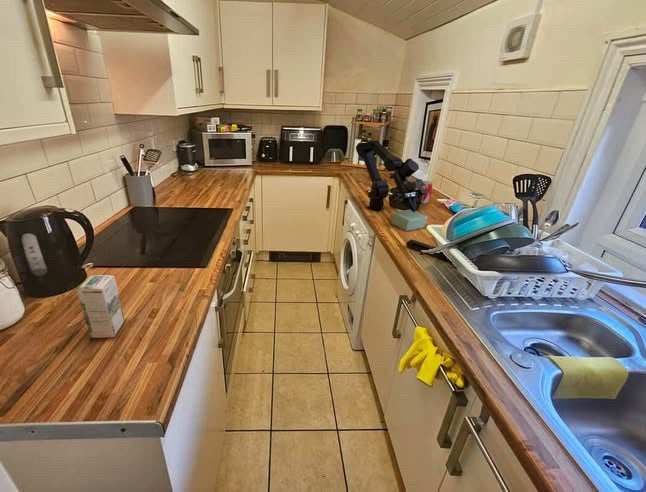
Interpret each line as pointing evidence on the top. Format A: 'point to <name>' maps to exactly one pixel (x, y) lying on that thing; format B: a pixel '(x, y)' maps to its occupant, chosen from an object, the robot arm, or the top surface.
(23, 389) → the top surface
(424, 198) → the soda can
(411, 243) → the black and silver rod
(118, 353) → the top surface
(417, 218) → the lid
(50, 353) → the top surface
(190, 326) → the top surface
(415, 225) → the keepsake box
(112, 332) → the syrup box
